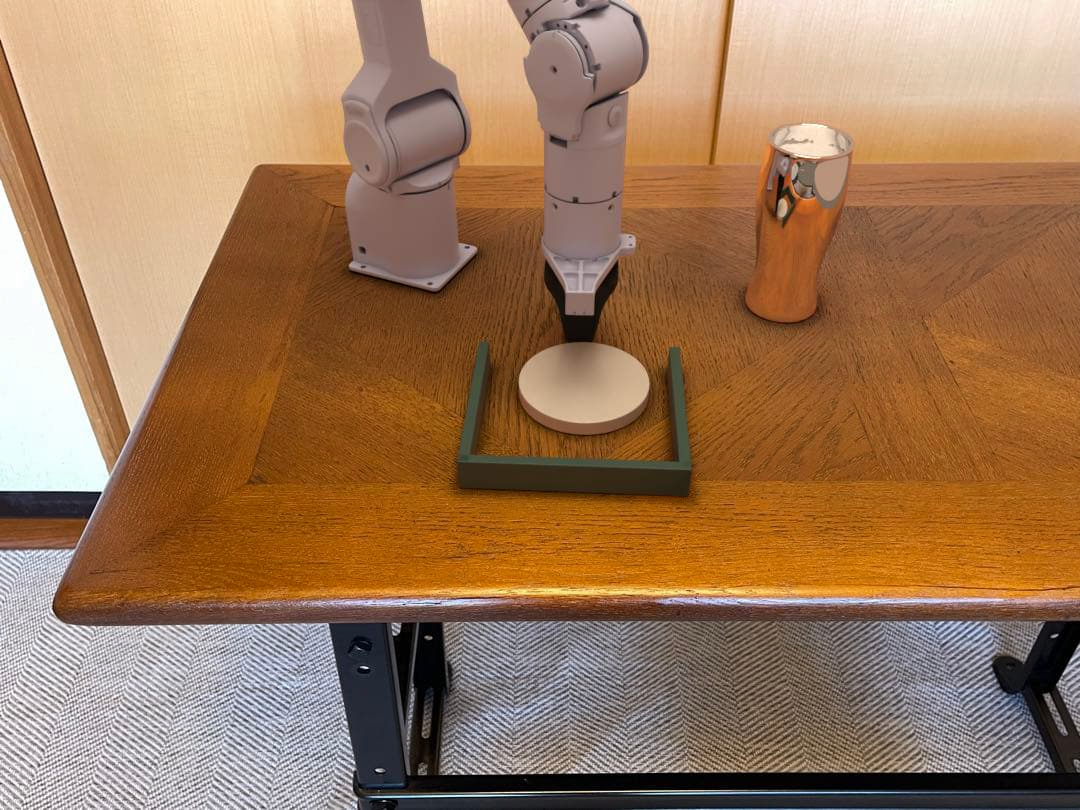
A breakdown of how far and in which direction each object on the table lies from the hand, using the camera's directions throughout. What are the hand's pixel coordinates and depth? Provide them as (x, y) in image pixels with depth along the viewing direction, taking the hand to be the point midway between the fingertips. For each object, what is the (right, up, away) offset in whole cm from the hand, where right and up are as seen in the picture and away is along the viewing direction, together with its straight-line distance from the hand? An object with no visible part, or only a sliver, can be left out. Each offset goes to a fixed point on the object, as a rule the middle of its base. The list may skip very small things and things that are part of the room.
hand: (579, 340), depth 75 cm
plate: (0, -4, -4) cm, 6 cm away
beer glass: (+18, +3, +6) cm, 19 cm away
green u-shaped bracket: (-1, -7, -7) cm, 9 cm away
